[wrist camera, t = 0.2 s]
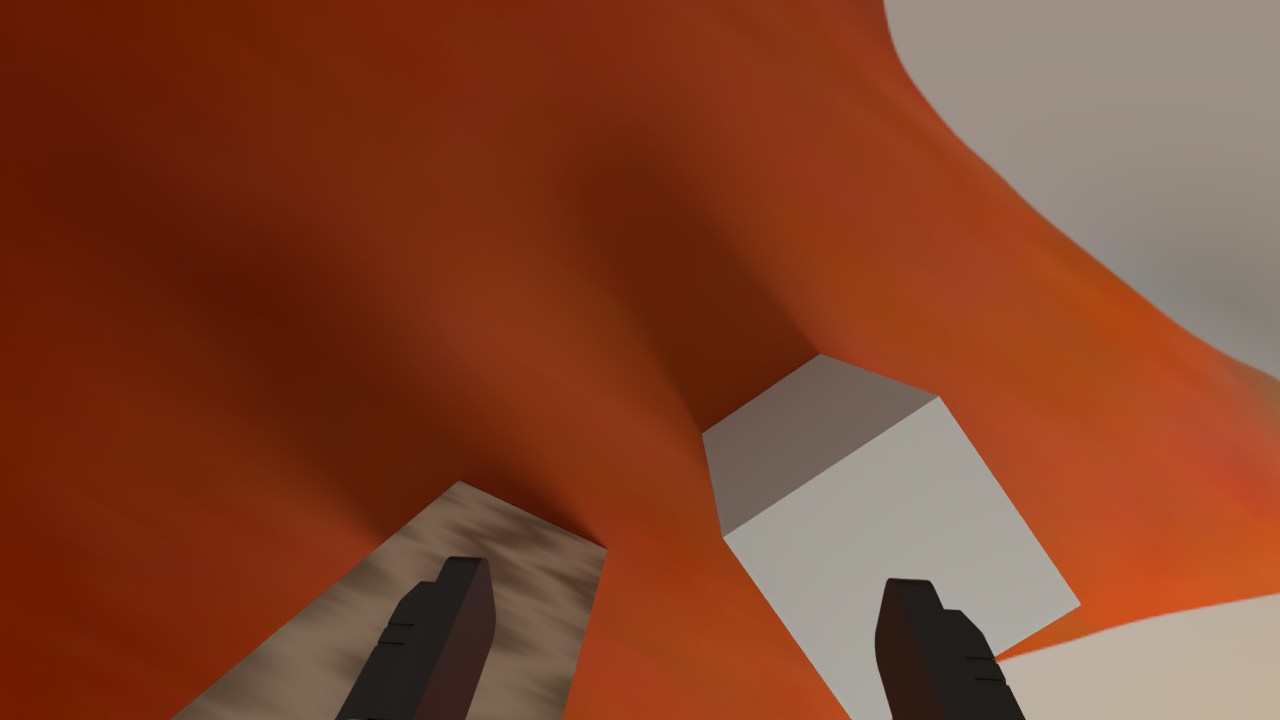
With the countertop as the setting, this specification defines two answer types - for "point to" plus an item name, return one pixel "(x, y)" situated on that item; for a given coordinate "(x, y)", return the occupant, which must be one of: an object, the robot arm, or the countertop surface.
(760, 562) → the short block
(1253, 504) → the countertop surface
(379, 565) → the tall stand
